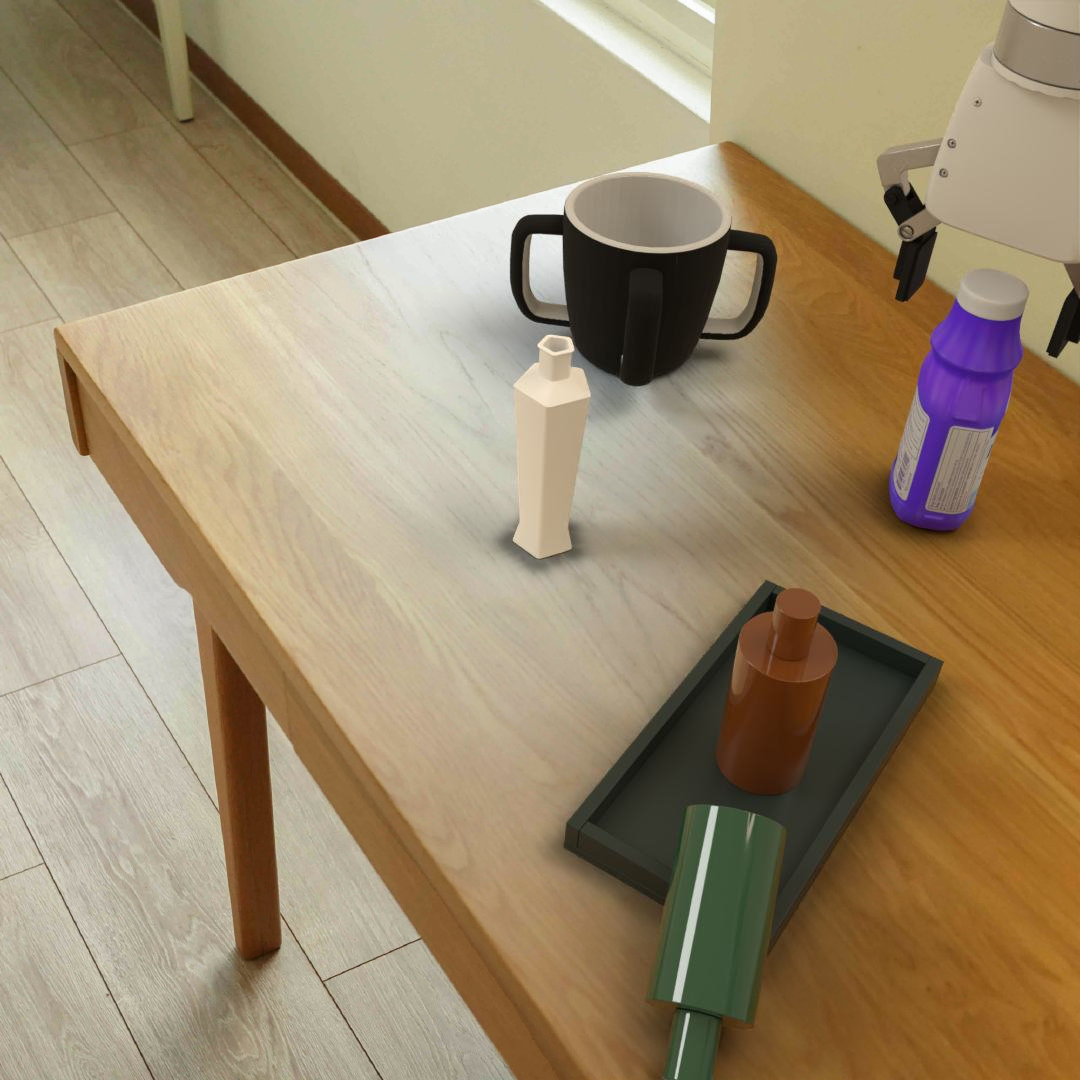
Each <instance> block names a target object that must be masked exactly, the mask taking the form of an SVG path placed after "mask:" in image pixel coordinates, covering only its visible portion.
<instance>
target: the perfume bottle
mask: <svg viewBox="0 0 1080 1080" xmlns="http://www.w3.org/2000/svg"><path fill="white" fill-rule="evenodd" d="M573 342H574V341H573V339H572V338H571V337H569V336H565V335H564V336H563V335H556V334H547V335H544V337H542V339H541V340H540V341H539V342H538V343H537V345H536V346H537V348H538V349H539V356H538V362H534V363H532V364H531V366H529V368H528V369H527V370H526V371H525V372H524V373H523V374H522V375H521V376H520V377H519V379H517V381H515V382H514V384H513V397H514V398H513V399H514V420H515V421H514V422H515V444H516V446H515V447H516V466H517V488H518V489H517V491H518V511H519V513H518V514H519V522H518V525H517V527H516V530H515V533H514V535H513V538H512V541H513V542H514V543H515V544H516V545H517V546H519V547H520V548H521V549H523V550H525V552H527V553H529V554H530V555H531V556H533V557H534V558H536V559H538V560H539V559H544V558H548V557H551V556H554V555H558V554H561V553H564V552H568V551H571V550H572V549H573V545H572V541H571V535H570V531H569V523H570V519H571V512H572V507H573V506H572V505H573V501H574V500H573V499H574V494H575V489H576V483H577V477H578V472H579V471H578V470H579V465H580V459H581V455H582V448H583V442H584V437H585V431H586V426H587V419H588V413H589V409H590V402H591V396H592V392H591V390H590V387H589V383H588V380H587V377H586V374H585V371H584V369H583V368H582V367H577V366H576V367H575V366H572V355H573V353H574V351H575V346H574V343H573Z"/></svg>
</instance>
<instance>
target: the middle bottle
mask: <svg viewBox="0 0 1080 1080" xmlns="http://www.w3.org/2000/svg"><path fill="white" fill-rule="evenodd" d="M821 605H822V604H821V601H820V599H819V597H818V596H816V594H814V593H813V592H811V591H810V590H807V589H805V588H801V587H789V588H786V589H785V590H783V591H782V592H780V593H779V594H778V596H777V598H776V603H775V607H774V611H772V612H766V613H763V614H760V615H757V616H755V617H753V618H752V619H750V620H749V621H748V622H747V623H746V624H745V625H744V626H743V628H742V629H741V632H740V635H739V640H738V644H737V649H736V654H735V659H734V664H733V668H732V673H731V678H730V683H729V687H728V692H727V697H726V702H725V706H724V711H723V716H722V721H721V725H720V730H719V735H718V740H717V744H716V749H715V758H716V762H717V765H718V767H719V769H720V771H721V773H722V774H723V775H724V776H725V778H726V779H727V780H729V781H730V782H731V783H732V784H734V785H735V786H737V787H738V788H740V789H742V790H744V791H747V792H750V793H753V794H758V795H777V794H781V793H785V792H787V791H789V790H791V789H793V788H794V787H795V786H796V785H798V784H799V783H800V781H801V780H802V778H803V776H804V774H805V771H806V767H807V764H808V760H809V757H810V753H811V750H812V746H813V743H814V739H815V736H816V732H817V729H818V725H819V721H820V718H821V714H822V711H823V707H824V704H825V700H826V697H827V693H828V690H829V686H830V683H831V679H832V676H833V672H834V669H835V665H836V661H837V657H838V650H837V646H836V643H835V641H834V639H833V637H832V636H831V634H830V633H829V632H828V631H827V630H826V629H825V628H824V627H823V626H822V625H821V624H819V623H818V618H819V614H820V610H821Z"/></svg>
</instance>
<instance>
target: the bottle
mask: <svg viewBox="0 0 1080 1080" xmlns="http://www.w3.org/2000/svg"><path fill="white" fill-rule="evenodd" d="M955 294H956V296H955V299H954V302H953V304H952V306H951V309H950V311H949V312H948V314H947V316H946V317H945V318H944V319H943V321H941V322H939V323H938V324H937V325H936V326H935V327H934V329H933V330H932V332H931V335H930V339H929V341H930V342H929V343H930V347H931V349H930V350H929V351H928V353H927V354H926V356H925V357H924V359H923V361H922V364H921V366H920V369H919V374H918V376H917V377H918V378H917V384H916V388H915V391H914V395H913V398H912V402H911V406H910V409H909V413H908V414H907V415H908V416H907V418H906V423H905V426H904V429H903V433H902V436H901V438H900V442H899V445H898V449H897V452H896V456H895V458H894V461H893V462H892V465H891V469H890V474H889V484H888V485H889V486H888V487H889V488H888V489H889V492H888V493H889V499H890V504H891V507H892V509H893V511H894V513H895V515H896V517H897V518H898V519H899V520H901V521H902V522H904V523H906V524H908V525H910V526H913V527H916V528H921V529H929V530H934V531H953V530H958V529H959V528H960V527H961V526H962V525H963V524H964V523H965V522H966V521H967V519H968V518H969V517H970V515H971V513H972V512H973V509H974V507H975V503H976V498H977V495H978V491H979V490H980V486H981V483H982V479H983V476H984V473H985V471H986V468H987V465H988V462H989V459H990V455H991V453H992V450H993V447H994V443H995V441H996V438H997V436H998V432H999V429H1000V427H1001V424H1002V420H1004V418H1005V415H1006V413H1007V411H1008V407H1009V403H1010V400H1011V394H1012V388H1013V382H1014V381H1013V380H1014V371H1015V370H1016V369H1017V367H1018V366H1019V365H1020V363H1021V362H1022V360H1023V357H1024V352H1025V351H1024V347H1023V343H1022V339H1021V323H1022V318H1023V315H1024V312H1025V309H1026V305H1027V302H1028V299H1029V297H1030V289H1029V287H1028V285H1027V283H1026V282H1025V281H1024V280H1023V279H1021V278H1020V277H1018V276H1016V275H1015V274H1013V273H1010V272H1008V271H1005V270H1002V269H999V268H998V269H997V268H990V267H989V268H988V267H982V268H975V269H972V270H969V271H967V272H965V273H964V274H963V275H962V277H961V279H960V282H959V287H958V289H957V291H956V293H955Z"/></svg>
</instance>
